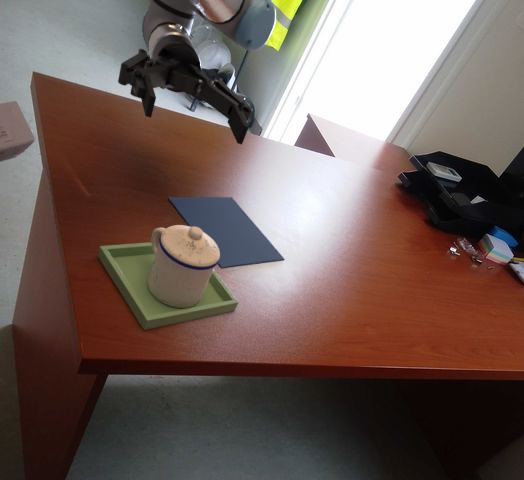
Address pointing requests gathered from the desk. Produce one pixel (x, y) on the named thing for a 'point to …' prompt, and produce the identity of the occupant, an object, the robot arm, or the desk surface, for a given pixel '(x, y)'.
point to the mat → (227, 229)
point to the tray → (140, 297)
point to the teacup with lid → (181, 264)
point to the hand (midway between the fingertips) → (199, 122)
